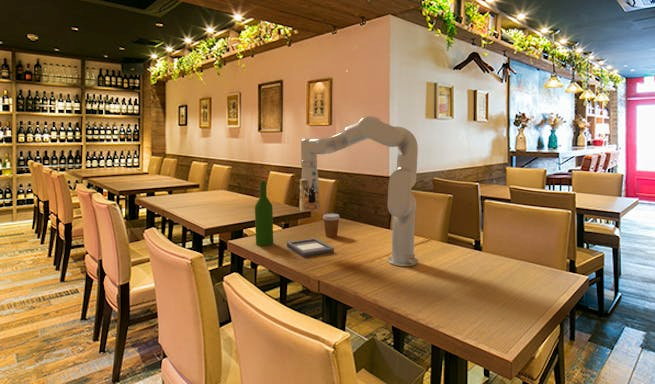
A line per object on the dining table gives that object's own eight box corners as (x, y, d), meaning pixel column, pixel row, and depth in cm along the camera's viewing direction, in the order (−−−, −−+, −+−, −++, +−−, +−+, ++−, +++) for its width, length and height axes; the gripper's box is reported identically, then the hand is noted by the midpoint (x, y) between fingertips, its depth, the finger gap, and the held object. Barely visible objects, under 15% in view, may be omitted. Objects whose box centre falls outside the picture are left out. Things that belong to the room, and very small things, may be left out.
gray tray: (333, 252, 194) (333, 247, 194) (303, 257, 187) (303, 252, 186) (315, 242, 212) (315, 238, 211) (287, 246, 204) (287, 242, 204)
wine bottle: (275, 241, 214) (273, 180, 209) (271, 246, 205) (269, 183, 200) (258, 241, 215) (256, 180, 210) (253, 246, 206) (251, 182, 201)
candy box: (301, 211, 193) (301, 180, 191) (299, 210, 197) (299, 179, 195) (319, 210, 196) (319, 179, 193) (317, 209, 200) (317, 178, 197)
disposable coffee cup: (339, 238, 220) (340, 216, 219) (322, 238, 221) (322, 216, 219) (339, 234, 230) (339, 213, 228) (323, 233, 230) (323, 213, 228)
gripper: (324, 165, 187) (324, 204, 190) (308, 163, 202) (308, 198, 205) (309, 166, 184) (310, 205, 186) (294, 163, 198) (295, 200, 201)
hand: (309, 201), depth 196 cm, fingers closed on candy box, 4 cm apart
